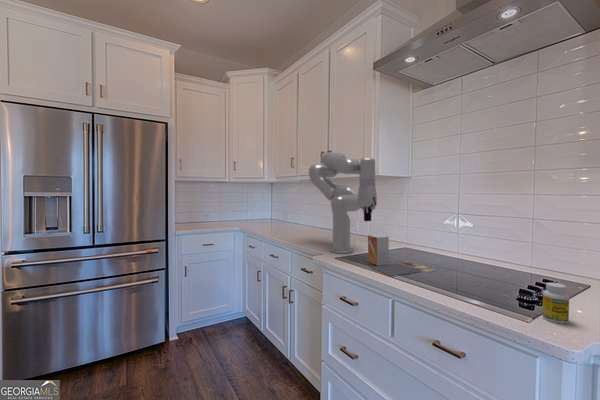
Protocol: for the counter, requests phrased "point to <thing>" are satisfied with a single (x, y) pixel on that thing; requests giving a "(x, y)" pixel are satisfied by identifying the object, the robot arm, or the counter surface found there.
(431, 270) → the turner
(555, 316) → the supplement bottle
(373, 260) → the small box
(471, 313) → the counter surface
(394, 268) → the mat
